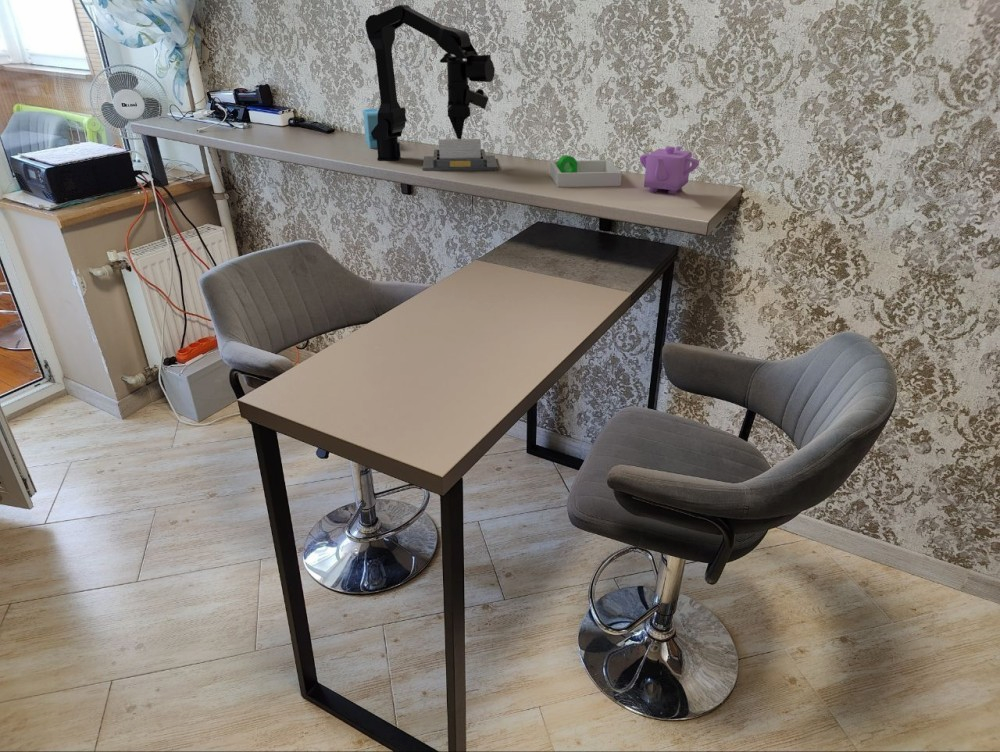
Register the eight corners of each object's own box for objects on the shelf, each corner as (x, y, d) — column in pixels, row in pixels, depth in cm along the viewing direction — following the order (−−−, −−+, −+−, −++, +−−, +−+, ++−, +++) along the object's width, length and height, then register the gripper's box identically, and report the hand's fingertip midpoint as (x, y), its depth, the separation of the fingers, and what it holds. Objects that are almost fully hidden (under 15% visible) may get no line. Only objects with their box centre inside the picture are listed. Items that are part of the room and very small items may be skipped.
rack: (422, 171, 200) (422, 160, 199) (424, 159, 216) (423, 149, 214) (497, 170, 201) (497, 159, 200) (494, 158, 217) (494, 148, 215)
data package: (384, 151, 228) (381, 113, 223) (370, 152, 227) (366, 113, 221) (379, 145, 238) (376, 108, 233) (365, 145, 237) (362, 108, 232)
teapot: (630, 184, 185) (634, 142, 180) (676, 182, 188) (681, 140, 183) (653, 198, 172) (658, 153, 167) (702, 195, 175) (709, 151, 170)
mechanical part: (566, 180, 200) (567, 151, 196) (576, 184, 196) (577, 155, 192) (529, 184, 196) (529, 155, 192) (538, 188, 191) (539, 159, 188)
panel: (439, 165, 202) (438, 141, 198) (440, 163, 204) (439, 139, 201) (480, 165, 202) (480, 140, 199) (480, 163, 205) (480, 138, 202)
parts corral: (557, 187, 183) (558, 173, 181) (549, 173, 198) (549, 160, 196) (620, 186, 184) (621, 172, 182) (607, 172, 199) (608, 160, 197)
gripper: (488, 83, 185) (488, 144, 192) (485, 77, 201) (485, 133, 208) (446, 84, 184) (448, 144, 191) (446, 77, 200) (448, 133, 208)
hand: (459, 138), depth 200 cm, fingers closed
